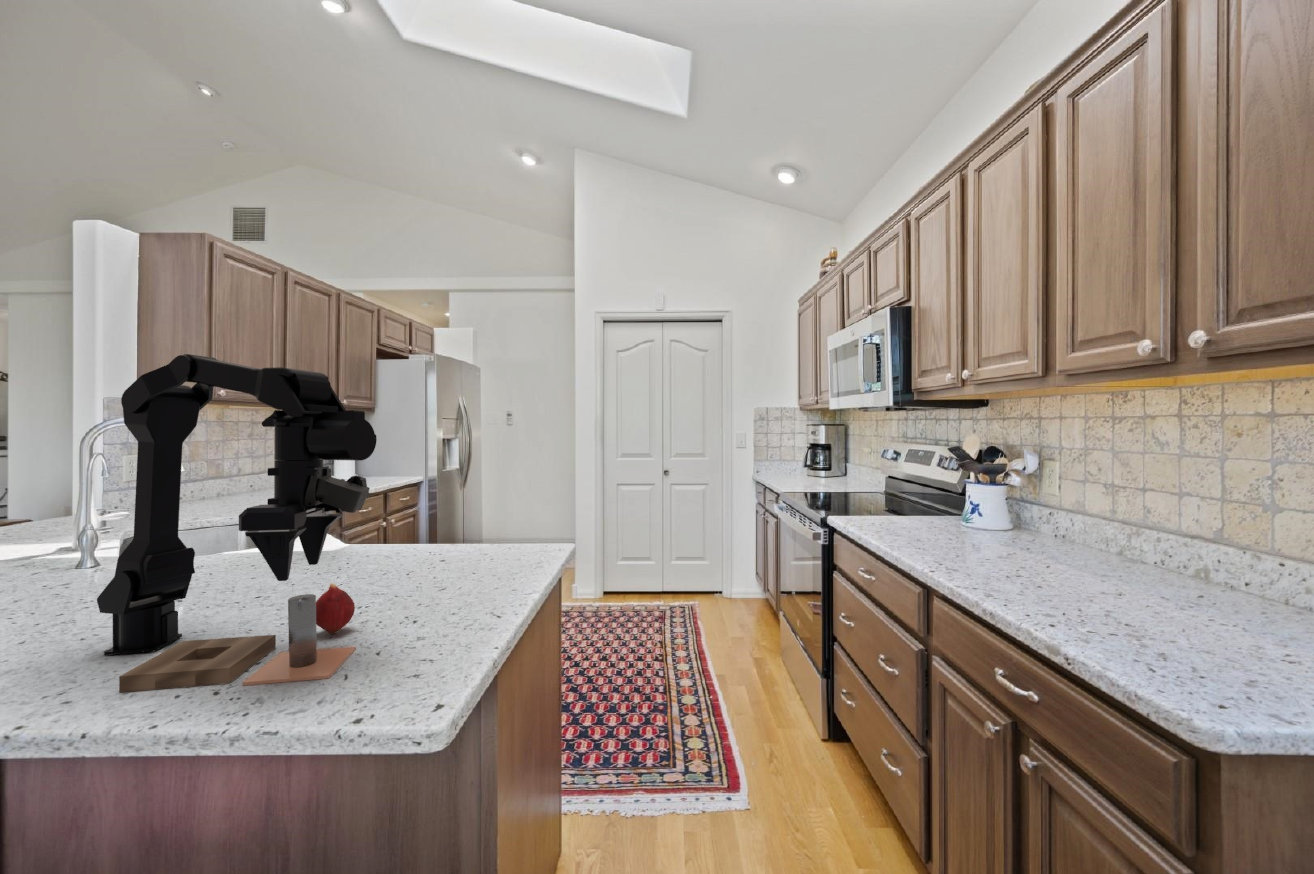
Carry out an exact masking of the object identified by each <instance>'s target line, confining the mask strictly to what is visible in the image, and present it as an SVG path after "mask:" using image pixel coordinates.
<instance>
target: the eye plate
mask: <svg viewBox="0 0 1314 874" xmlns="http://www.w3.org/2000/svg"><path fill="white" fill-rule="evenodd" d="M276 636H277V635H276V634H268V635H267V634H266V635H255V636H252V635H251V636H250V635H249V636H238V637H225V638H224V637H222V638H209V639H206V638H205V639H193V640H182V641H181V642H179V643H177V644H175V645H172V647H170V648H168V649H166V650H164V651H163V652H161V653H159V654H158V655H155V656H153V657H152V658H150V659H148V660H146V661H145V662H143V663H141V664H139V665H137V666H135V667H134V668H131V669H130V670H127V671H126V672H125V673H122V674H121V675H119V677H118V679H119V680H118V681H119V683H118V686H119V689H118V690H119V691H118V692H119V693H129V692H139V691H140V692H142V691H144V692H145V691H154V690H155V691H156V690H165V689H177V688H178V689H181V688H189V687H191V688H192V687H201V686H203V687H205V686H214V685H225V684H226V685H228V684H230V683H232V682H233V681H235V680H236V679H238V677H240V676H241V675H242V674H244V673H245V672H246V671H247V670H249V669H250V668H252V667H253V666H254V665H255V664H257V663H258V662H260V661H261V660H262V659H264V658H265V657H266V656H267V655H269V654H270V653H271V652H273V651H274V650H275V649H276V647H277V646H276V645H277V644H276V643H277V642H276V639H277V638H276Z"/></svg>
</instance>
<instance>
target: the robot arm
mask: <svg viewBox="0 0 1314 874" xmlns="http://www.w3.org/2000/svg"><path fill="white" fill-rule="evenodd" d="M186 382H187V383H195V384H194V385H193V386H192V387H190V386H189V385H183V384H184V383H186ZM214 388H221V389H225V390H229V391H234V392H238V393H243V394H248V395H251V396H252V397H255V399H257V401H258V402H259V403H262V404H264V405H265V406H268V407H271V408H272V409H274V410H273V412H272V414H270V415H269V416H267V417H266V418H264V419H263V421H262V422H261V426H262V427H263V428H266V427H267V428H274V444H273V445H274V458H273V459H274V463H273V464H274V466H273V467H268V468H267V476H268V477H270V476H271V477H272V476H273V478H274V480H273V481H274V487H273V489H274V490H273V491H274V493H273V496H274V497H271V498H270V497H269V498H267V504H259V505H254V506H250V507H246V509H244V510H243V511H242V512H241V513H239V515H238V531H239V532H244V534H245V537H249V538H250V540H251V541H252V542H253V544H254V545H255V547H256V548H257V549H258V551H259V553H260V554H261V555H262V557H263V558H264V560H265V562H266V563H267V565H268V567H269V568H270V570H271V572H272V573H273V575H274V576H275V579H276V580H277V581H278V582H286V581H288V580H289V577H290V574H291V567H292V561H293V553H294V547H295V541H296V539H297V538H298V539H299V540H300V541H299V542H300V545H301V546H302V550H303V554H304V556H305V558H306V562H307V563H308V565H310V566H311V565H312V566H315V565H318V564H319V561H320V557H321V555H322V551H323V548H324V545H325V543H326V539H327V535H328V532H329V529H330V528H331V526H332V525H333V524H334V523H335V522H336V521H338V520H339V519H340V518H342V517H343V515H344V513H350V514H353V513H356V511H361V510H362V509H363V507H364V504H365V502H366V499H367V498H370V495H371V493H370V487H368V483H367V478H366V477H363V476H360V475H351V476H350V477H349V478H348V479H347V480H345V479H344V478H341V479H340V478H336V477H333V476H332V469H331V468H330V466H329V465H324V461H364V460H367V459H368V458H370V457H371V456H372V455H373V453H374V452H375V449H376V446H377V435H376V433H375V430H374V427H373V425H372V424H371V422H369V421H368V420H366V412H365V411H364V410H356V409H346V408H345V407H344V405H343V403H342V402H341V400H340V399H339V397H338V395H337V394H336V392H335V391H334V389H333V387H332V386H331V382H330V380H329V376H328V375H326V374H324V373H322V372H319V371H318V372H316V371H310V370H303V369H297V368H290V367H289V368H288V367H281V366H280V367H278V366H277V367H263V368H258V367H253V366H247V365H242V364H238V363H234V362H233V363H232V362H228V361H225V360H219V359H217V358H216V357H215V358H214V357H213V356H205V355H199V354H198V355H196V354H191V353H184V354H180V355H176V356H175V357H174V358H173V359H172V360H171V361H170V362H169V363H168V364H165V365H163V366H161V367H158V368H155V369H153V370H151V371H149V372H146V373H144V374H142V375H139V377H137V379H136V380H135V381H134V382H133V383H132V384H131V385H129V386H128V387H127V388H126V389H125V390H124V392H123V393H122V395H121V398H120V399H121V401H120V403H121V407H122V416H123V423H124V425H125V427H126V428H127V429H128V430H129V431H130V433H131V435H132V436H133V437H134V439H135V440H136V441H137V458H136V459H137V460H136V477H135V479H136V480H135V481H136V482H135V500H134V501H135V503H134V518H133V519H134V521H133V523H134V524H133V537H132V540H131V542H129V544H128V545H127V546H126V548H125V549H124V550H123V551H122V553H120V555H119V557H117V561H116V567H115V572H114V576H113V578H112V579H111V580H110V582H109V583H108V584H107V585H106V586H105V588H104V589H103V590H102V591H101V593H100V594H99V595H98V596H97V598H96V601H97V603H96V604H97V607H98V610H99V612H100V614H109V615H110V614H111V615H112V647H110V648H108V649H106V650H104V651H103V655H105V656H107V655H108V656H109V655H122V654H123V655H124V654H139V653H150V652H156V651H157V650H160V649H161V648H163V647H165V646H168V645H169V644H170V643H173V642H175V641H177V640H178V639H180V638H182V636H183V633H181V632H180V633H179V611H178V610H176V601H178V600H183V599H184V600H185V599H186V598H187V593H188V590H189V586H190V583H191V580H192V577H193V574H195V573H196V571H195V566H194V563H195V562H194V561H195V556H196V552H195V549H194V548H193V547H187V546H186V545H185V543H184V542H183V541H182V540H181V538H180V536H179V526H180V524H179V523H180V507H181V506H180V503H181V501H180V500H181V486H182V484H181V483H182V465H183V464H182V463H183V461H182V460H183V459H182V458H183V446H184V445H183V444H184V442H185V441H186V440H187V438H189V436H190V435H191V433H193V431H194V429H195V428H196V427H197V424H198V421H199V416H200V415H199V414H200V411H202V410H203V408H204V407H205V406H207V405H208V404H209V403H210V402H211V401H212V400H213V398H214V397H213V396H214ZM334 511H335V513H334ZM343 512H344V513H343Z"/></svg>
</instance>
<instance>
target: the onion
mask: <svg viewBox="0 0 1314 874" xmlns="http://www.w3.org/2000/svg"><path fill="white" fill-rule="evenodd" d="M355 609H356V606H355V601H354V600H353V598H352V597H351V596H350V595H349V594H348V593H347V592H346V591H344V590H343V589H341V588H339V587H338V586H337V585H336V584H335V583H333V582H332V583H330V584H329V587H328V590H327V591H324V593H322V595H321V596H320V597H319V598H318V599H316V627H319V628H321V629H322V630H324V631H326V632H327V633H329V634H330V635H333V634H334V635H335V634H336V633H337V632H339V631H340V630H341V629H343V628H344V627H346V625H347V624H349V622H350V621H351V620H352V618H353V616H354V614H355Z"/></svg>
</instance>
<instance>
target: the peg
mask: <svg viewBox="0 0 1314 874" xmlns="http://www.w3.org/2000/svg"><path fill="white" fill-rule="evenodd" d="M316 601H317V596H316V594H313V593H309V594H308V593H306V594H299V595H295V596H291V597H290V598H288V599H287V613H288V614H287V617H288V622H287V623H288V652H289V666H290V667H292V668H300V667H305V666H309V665H311V664H314V663H315V662H316V661H317V649H318V647H317V646H318V643H317V641H318V640H317V638H318V637H317V636H318V634H317V624H316Z"/></svg>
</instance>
